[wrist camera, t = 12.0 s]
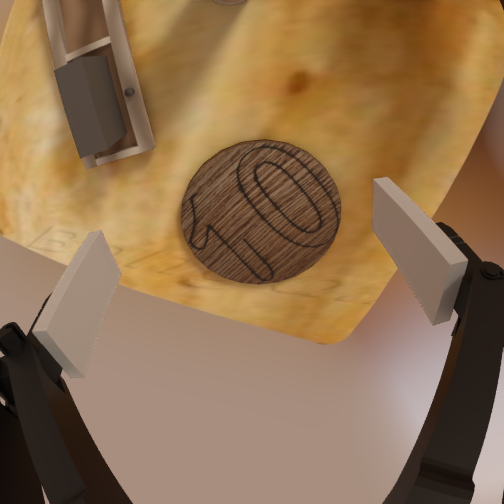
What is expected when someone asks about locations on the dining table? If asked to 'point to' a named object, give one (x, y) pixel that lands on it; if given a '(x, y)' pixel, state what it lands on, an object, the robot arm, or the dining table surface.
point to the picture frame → (90, 104)
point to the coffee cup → (229, 2)
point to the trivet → (260, 212)
